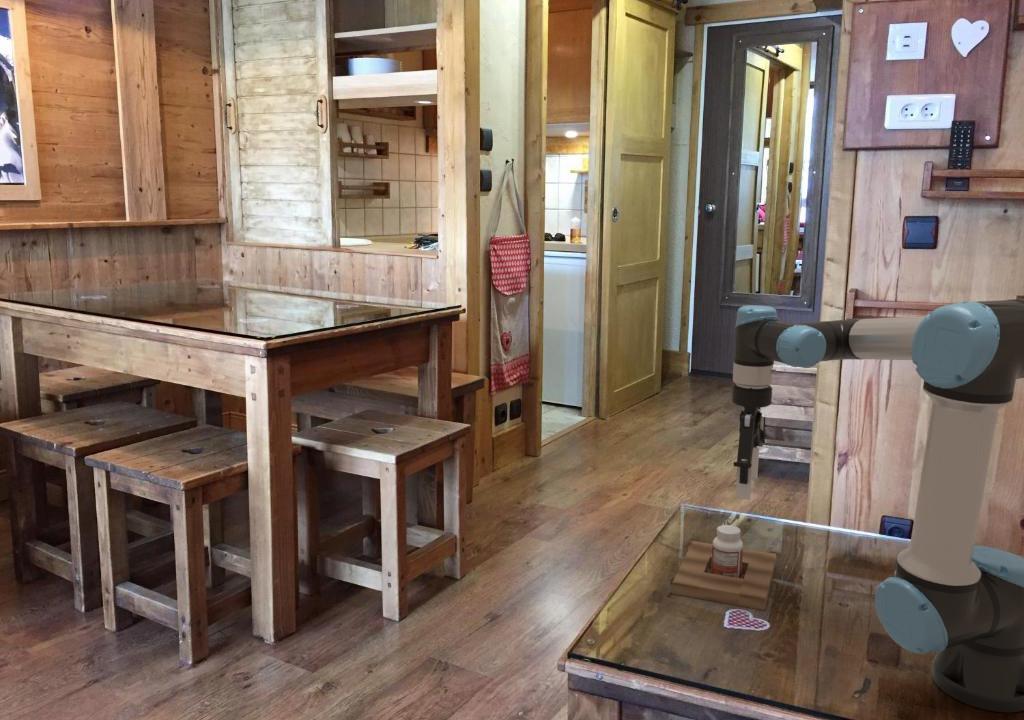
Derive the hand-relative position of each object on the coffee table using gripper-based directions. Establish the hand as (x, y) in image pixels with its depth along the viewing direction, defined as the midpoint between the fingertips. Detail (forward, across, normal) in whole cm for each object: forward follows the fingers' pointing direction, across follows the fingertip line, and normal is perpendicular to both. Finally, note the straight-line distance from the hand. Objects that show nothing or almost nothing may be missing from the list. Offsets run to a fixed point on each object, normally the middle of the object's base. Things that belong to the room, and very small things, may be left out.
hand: (746, 487), depth 176 cm
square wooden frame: (+21, +1, +3) cm, 21 cm away
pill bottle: (+21, +1, +3) cm, 21 cm away
